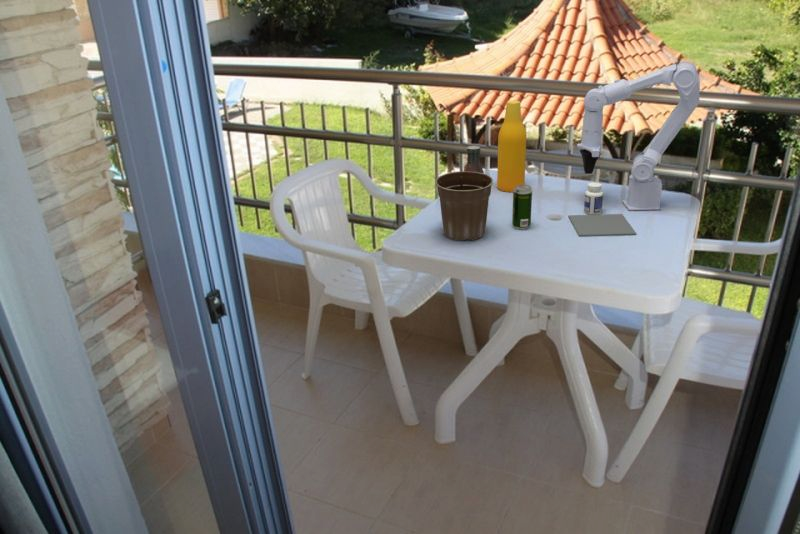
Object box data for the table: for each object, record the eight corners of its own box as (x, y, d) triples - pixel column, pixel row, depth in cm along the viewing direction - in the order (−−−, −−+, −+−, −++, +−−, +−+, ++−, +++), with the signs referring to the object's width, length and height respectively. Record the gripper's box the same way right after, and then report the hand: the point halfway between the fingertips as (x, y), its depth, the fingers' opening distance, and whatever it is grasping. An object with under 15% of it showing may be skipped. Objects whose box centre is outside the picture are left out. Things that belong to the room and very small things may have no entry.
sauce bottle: (482, 213, 212) (483, 150, 204) (462, 212, 214) (462, 150, 205) (483, 205, 218) (484, 144, 210) (464, 205, 219) (464, 144, 211)
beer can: (534, 228, 200) (535, 189, 195) (517, 231, 199) (519, 191, 194) (524, 221, 205) (526, 183, 200) (508, 224, 203) (510, 186, 198)
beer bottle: (496, 183, 237) (498, 99, 224) (523, 183, 236) (527, 98, 224) (497, 192, 229) (499, 105, 216) (525, 192, 228) (529, 104, 215)
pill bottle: (602, 209, 211) (604, 182, 208) (600, 215, 207) (603, 187, 203) (584, 208, 213) (586, 181, 209) (582, 214, 209) (585, 186, 205)
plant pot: (476, 248, 189) (477, 193, 182) (425, 238, 197) (424, 184, 190) (501, 228, 201) (503, 175, 194) (452, 219, 209) (452, 168, 202)
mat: (622, 215, 207) (622, 213, 206) (636, 235, 193) (636, 233, 193) (568, 216, 207) (568, 215, 207) (578, 236, 194) (579, 234, 193)
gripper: (573, 124, 215) (570, 166, 221) (583, 136, 202) (580, 180, 208) (596, 123, 215) (592, 165, 220) (608, 135, 201) (603, 180, 207)
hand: (588, 173), depth 214 cm, fingers closed
